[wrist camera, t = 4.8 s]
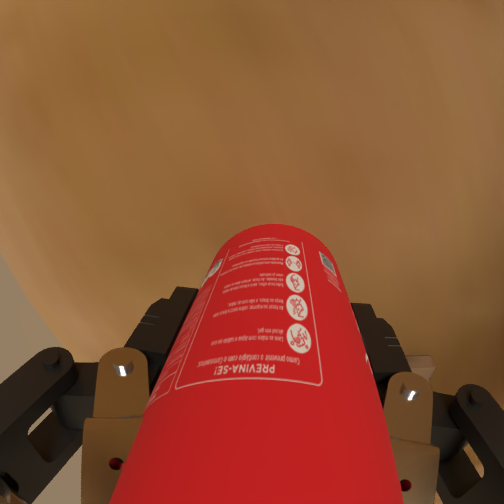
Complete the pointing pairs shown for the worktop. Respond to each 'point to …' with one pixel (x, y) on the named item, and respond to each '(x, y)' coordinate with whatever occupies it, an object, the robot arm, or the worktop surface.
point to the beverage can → (265, 389)
